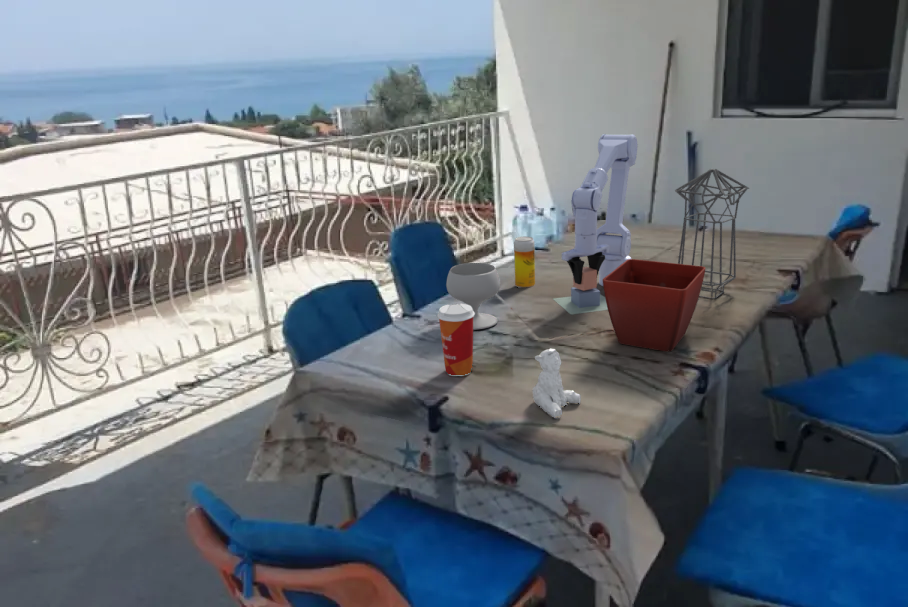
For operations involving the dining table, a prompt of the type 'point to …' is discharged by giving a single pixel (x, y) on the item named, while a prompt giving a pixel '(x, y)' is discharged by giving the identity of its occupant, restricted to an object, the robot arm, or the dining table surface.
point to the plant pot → (652, 302)
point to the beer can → (524, 262)
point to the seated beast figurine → (552, 385)
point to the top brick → (587, 279)
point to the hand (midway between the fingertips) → (585, 281)
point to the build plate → (573, 309)
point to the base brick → (585, 297)
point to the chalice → (474, 289)
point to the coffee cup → (457, 337)
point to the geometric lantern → (696, 181)
